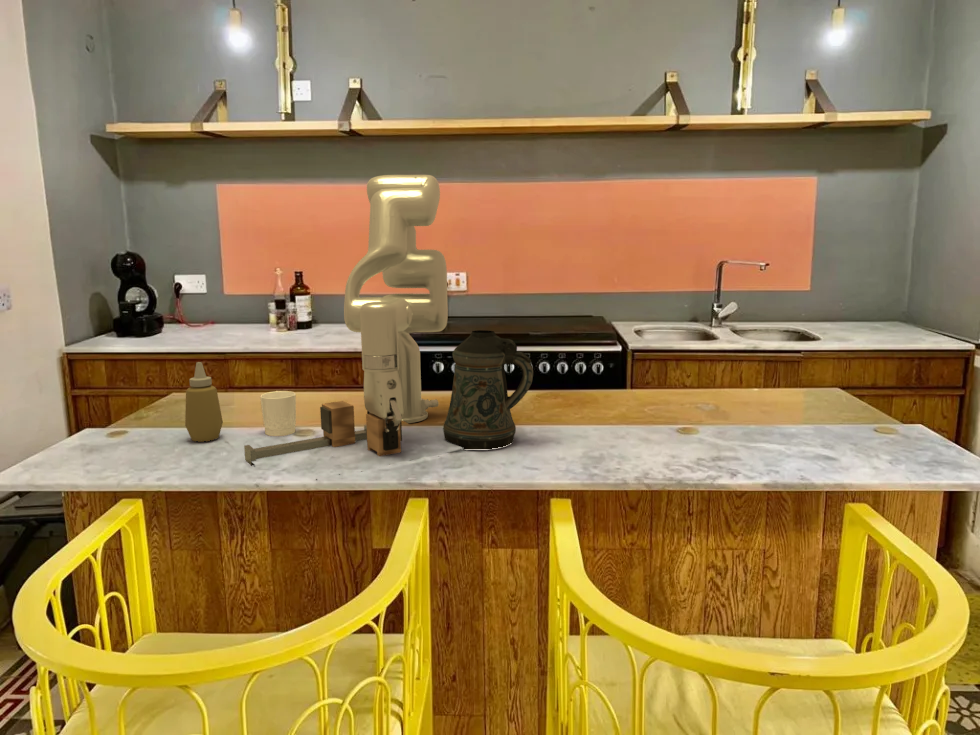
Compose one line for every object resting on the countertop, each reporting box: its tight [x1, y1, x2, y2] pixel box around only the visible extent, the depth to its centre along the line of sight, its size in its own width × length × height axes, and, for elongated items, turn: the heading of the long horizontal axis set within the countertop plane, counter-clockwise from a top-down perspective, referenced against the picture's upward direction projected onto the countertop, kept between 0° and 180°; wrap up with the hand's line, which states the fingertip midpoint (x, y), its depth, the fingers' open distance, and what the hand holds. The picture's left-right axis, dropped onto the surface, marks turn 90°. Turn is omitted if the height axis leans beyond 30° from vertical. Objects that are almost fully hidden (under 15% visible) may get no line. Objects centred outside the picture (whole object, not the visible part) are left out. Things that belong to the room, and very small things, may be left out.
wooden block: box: [319, 400, 356, 448], centre depth 157 cm, size 6×6×8 cm
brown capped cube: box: [365, 413, 403, 457], centre depth 151 cm, size 6×6×8 cm
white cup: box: [259, 390, 297, 437], centre depth 166 cm, size 8×8×10 cm
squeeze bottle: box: [184, 361, 224, 443], centre depth 163 cm, size 8×8×18 cm
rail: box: [243, 424, 367, 467], centre depth 155 cm, size 28×4×3 cm, turn 124°
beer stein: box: [442, 329, 534, 449], centre depth 160 cm, size 16×19×25 cm
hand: (383, 444), depth 151 cm, fingers closed on brown capped cube, 5 cm apart
